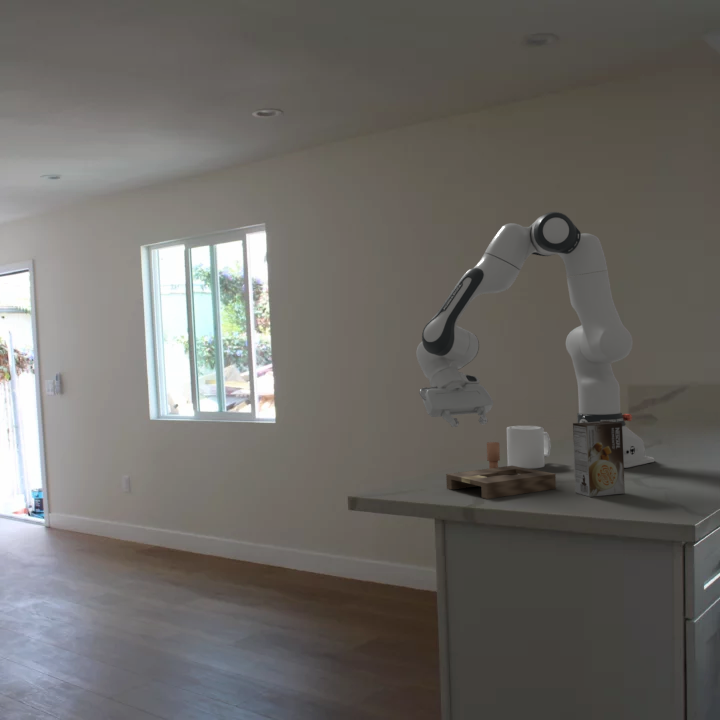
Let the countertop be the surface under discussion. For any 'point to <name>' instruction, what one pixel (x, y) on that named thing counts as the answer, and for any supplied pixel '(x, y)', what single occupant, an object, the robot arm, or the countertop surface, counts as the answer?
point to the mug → (527, 446)
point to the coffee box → (598, 458)
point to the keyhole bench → (503, 481)
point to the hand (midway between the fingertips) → (470, 424)
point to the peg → (493, 454)
